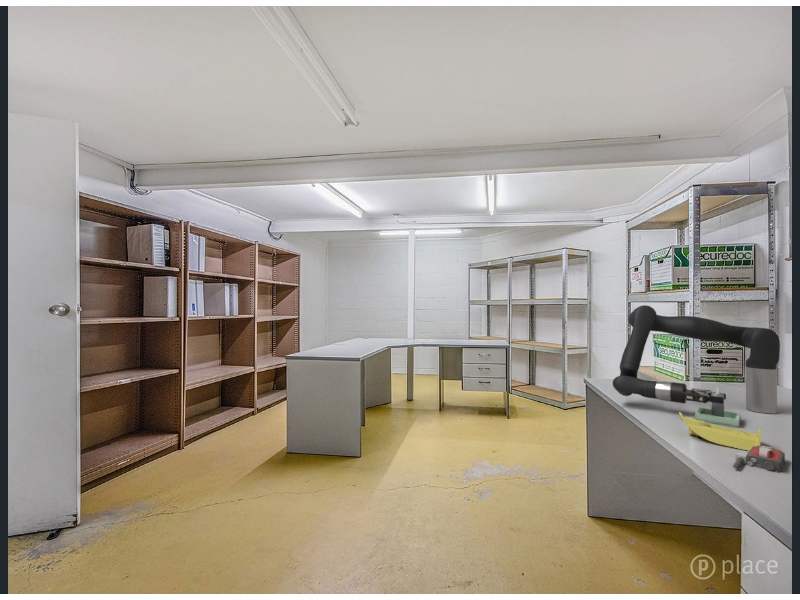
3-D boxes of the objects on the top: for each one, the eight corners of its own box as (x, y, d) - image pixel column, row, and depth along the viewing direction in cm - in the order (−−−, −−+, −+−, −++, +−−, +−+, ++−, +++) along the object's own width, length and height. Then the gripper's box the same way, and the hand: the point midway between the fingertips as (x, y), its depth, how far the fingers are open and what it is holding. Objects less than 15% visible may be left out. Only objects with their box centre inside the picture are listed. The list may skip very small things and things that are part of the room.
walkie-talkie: (743, 452, 112) (729, 471, 99) (743, 436, 112) (729, 453, 99) (786, 461, 106) (777, 483, 92) (786, 445, 106) (777, 464, 92)
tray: (699, 414, 151) (699, 407, 151) (740, 420, 143) (740, 413, 143) (695, 420, 142) (695, 413, 143) (738, 427, 134) (738, 420, 134)
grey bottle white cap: (712, 416, 145) (711, 386, 145) (724, 418, 143) (724, 388, 143) (711, 418, 143) (710, 388, 143) (723, 420, 140) (723, 389, 140)
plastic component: (759, 435, 119) (761, 427, 112) (758, 459, 117) (759, 453, 110) (680, 417, 133) (677, 410, 126) (677, 439, 130) (674, 432, 124)
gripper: (667, 384, 148) (722, 391, 136) (674, 379, 158) (726, 385, 147) (667, 404, 148) (722, 412, 136) (674, 398, 158) (726, 405, 147)
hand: (724, 398), depth 141 cm, fingers open, 8 cm apart
